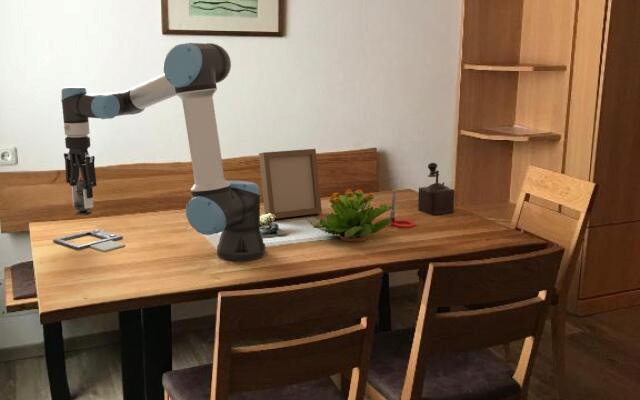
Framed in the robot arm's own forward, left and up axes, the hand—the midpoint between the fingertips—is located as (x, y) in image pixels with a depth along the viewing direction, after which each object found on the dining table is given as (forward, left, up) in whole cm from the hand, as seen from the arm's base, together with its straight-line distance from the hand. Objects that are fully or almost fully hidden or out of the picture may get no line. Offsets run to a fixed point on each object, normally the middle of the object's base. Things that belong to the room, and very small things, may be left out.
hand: (83, 206), depth 228 cm
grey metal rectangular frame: (0, -1, -12) cm, 12 cm away
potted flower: (-66, -61, -12) cm, 91 cm away
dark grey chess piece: (0, 0, -3) cm, 3 cm away
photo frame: (-27, -71, -12) cm, 77 cm away
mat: (-11, -1, -12) cm, 16 cm away
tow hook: (-69, -86, -12) cm, 111 cm away
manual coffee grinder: (-66, -113, -12) cm, 132 cm away
